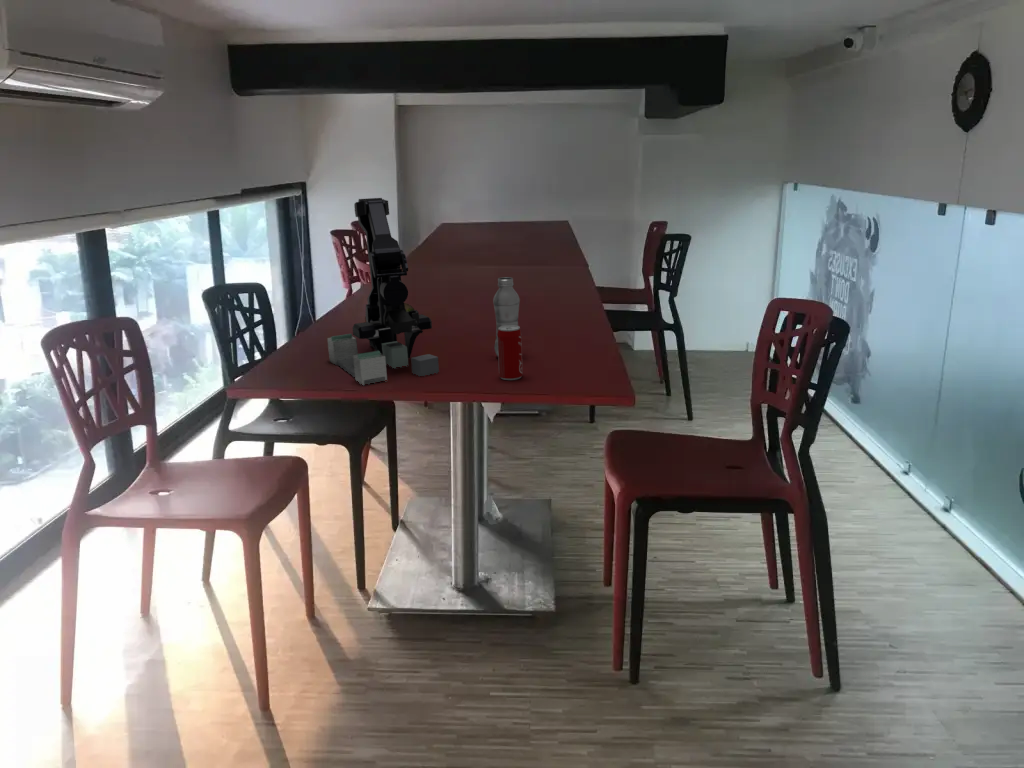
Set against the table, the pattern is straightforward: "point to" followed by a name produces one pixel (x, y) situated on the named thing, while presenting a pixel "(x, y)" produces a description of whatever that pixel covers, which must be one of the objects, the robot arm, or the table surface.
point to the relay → (425, 365)
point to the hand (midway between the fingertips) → (395, 360)
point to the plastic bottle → (505, 305)
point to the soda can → (510, 352)
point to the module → (395, 354)
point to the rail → (357, 359)
